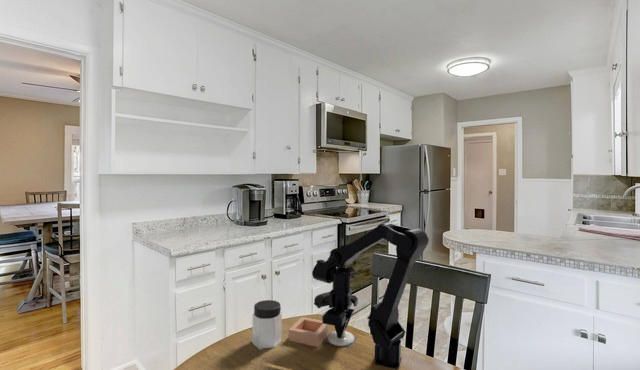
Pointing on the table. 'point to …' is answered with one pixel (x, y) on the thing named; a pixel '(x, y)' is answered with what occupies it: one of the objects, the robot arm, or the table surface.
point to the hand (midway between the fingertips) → (340, 335)
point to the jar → (267, 324)
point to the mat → (345, 346)
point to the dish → (308, 331)
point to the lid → (344, 340)
